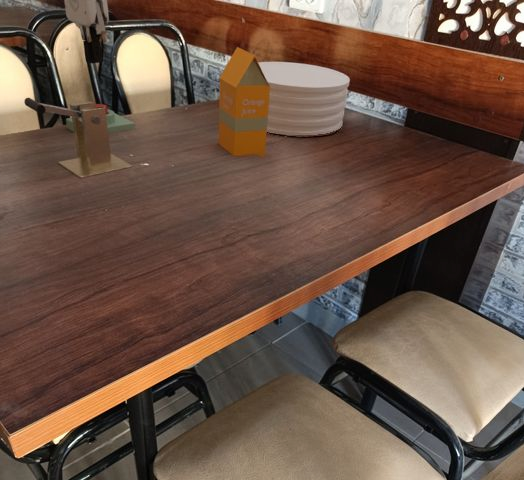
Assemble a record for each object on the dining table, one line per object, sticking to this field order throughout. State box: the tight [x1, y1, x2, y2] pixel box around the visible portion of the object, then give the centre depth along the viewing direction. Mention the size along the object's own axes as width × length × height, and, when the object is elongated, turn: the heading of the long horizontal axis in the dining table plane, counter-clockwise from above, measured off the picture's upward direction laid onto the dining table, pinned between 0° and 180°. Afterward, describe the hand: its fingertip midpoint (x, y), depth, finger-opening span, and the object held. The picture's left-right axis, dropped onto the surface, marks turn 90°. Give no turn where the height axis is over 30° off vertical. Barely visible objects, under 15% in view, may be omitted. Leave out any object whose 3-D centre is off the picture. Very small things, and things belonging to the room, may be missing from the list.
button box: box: [65, 108, 136, 134], centre depth 117 cm, size 12×10×4 cm
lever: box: [24, 97, 88, 122], centre depth 90 cm, size 12×5×2 cm, turn 133°
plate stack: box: [257, 61, 351, 135], centre depth 132 cm, size 28×28×12 cm
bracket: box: [57, 100, 133, 179], centre depth 96 cm, size 11×9×12 cm
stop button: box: [94, 103, 108, 115], centre depth 115 cm, size 4×4×2 cm
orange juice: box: [218, 46, 270, 157], centre depth 108 cm, size 8×9×20 cm
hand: (94, 62), depth 109 cm, fingers closed
